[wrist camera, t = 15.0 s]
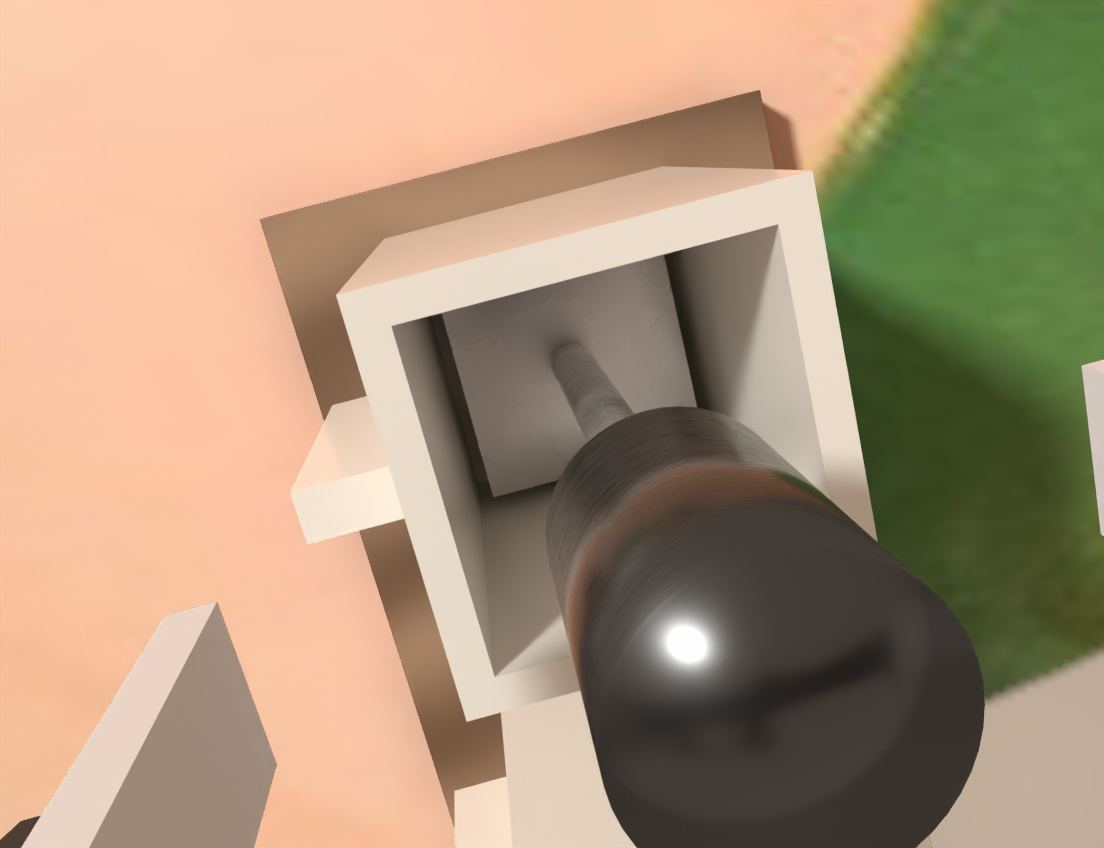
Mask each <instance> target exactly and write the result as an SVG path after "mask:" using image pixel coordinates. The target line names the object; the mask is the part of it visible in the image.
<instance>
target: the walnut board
mask: <svg viewBox="0 0 1104 848" xmlns="http://www.w3.org/2000/svg"><path fill="white" fill-rule="evenodd" d="M662 166H667V167H705V168H743V169H774V163H773V158H772V152H771V147H770V142H769V136H768V131H767V125H766V120H765V115H764V109H763V104H762V98H761V93H760V90H758V91H754V92H749V93H745V94H741V95H737V96H734V97H730V98H726V99H722V100H718V101H714V102H710V103H707V104H703V105H699V106H695V107H691V108H687V109H683V110H679V111H676V112H672V113H668V114H664V115H660V116H656V117H652V118H649V119H645V120H641V121H637V122H633V123H629V124H625V125H622V126H618V127H614V128H610V129H606V130H602V131H598V132H595V133H591V134H587V135H583V136H579V137H575V138H571V139H567V140H564V141H560V142H556V143H552V144H548V145H544V146H540V147H537V148H533V149H529V150H525V151H521V152H517V153H513V154H510V155H506V156H502V157H498V158H494V159H490V160H486V161H483V162H479V163H475V164H471V165H467V166H463V167H459V168H456V169H452V170H448V171H444V172H440V173H436V174H432V175H428V176H425V177H421V178H417V179H413V180H409V181H405V182H401V183H398V184H394V185H390V186H386V187H382V188H378V189H374V190H371V191H367V192H363V193H359V194H355V195H351V196H347V197H344V198H340V199H336V200H332V201H328V202H324V203H320V204H316V205H313V206H309V207H305V208H301V209H297V210H293V211H289V212H286V213H282V214H278V215H274V216H270V217H267V218H263V219H260V222H261V225H262V228H263V231H264V235H265V238H266V241H267V244H268V247H269V250H270V253H271V256H272V260H273V263H274V266H275V269H276V272H277V275H278V278H279V281H280V285H281V288H282V291H283V294H284V297H285V300H286V303H287V306H288V310H289V313H290V316H291V319H292V322H293V325H294V328H295V331H296V335H297V338H298V341H299V344H300V347H301V350H302V353H303V356H304V360H305V363H306V366H307V369H308V372H309V375H310V378H311V381H312V384H313V388H314V391H315V394H316V397H317V400H318V403H319V406H320V409H321V413H322V416H323V419H324V422H325V419H326V417H327V415H328V413H329V411H330V409H331V407H332V405H335V404H339V403H343V402H347V401H350V400H354V399H358V398H362V397H366V396H367V395H366V391H365V388H364V385H363V382H362V378H361V375H360V372H359V369H358V365H357V362H356V359H355V355H354V352H353V349H352V346H351V342H350V339H349V336H348V333H347V329H346V326H345V323H344V320H343V316H342V313H341V310H340V307H339V303H338V300H337V297H336V294H337V293H338V292H339V291H340V290H341V288H342V287H343V286H344V285H345V284H346V283H347V282H348V280H349V279H350V278H351V277H352V276H353V275H354V273H355V272H356V271H357V270H358V269H359V268H360V266H361V265H362V264H363V263H364V262H365V261H366V259H367V258H368V257H369V256H370V255H371V254H372V252H373V251H374V250H375V249H376V248H377V247H378V245H379V244H380V243H381V242H382V241H383V240H384V239H385V238H389V237H393V236H397V235H400V234H404V233H408V232H412V231H416V230H420V229H424V228H427V227H431V226H435V225H439V224H443V223H447V222H450V221H454V220H458V219H462V218H466V217H470V216H473V215H477V214H481V213H485V212H489V211H493V210H496V209H500V208H504V207H508V206H512V205H516V204H519V203H523V202H527V201H531V200H535V199H539V198H543V197H546V196H550V195H554V194H558V193H562V192H566V191H569V190H573V189H577V188H581V187H585V186H589V185H592V184H596V183H600V182H604V181H608V180H612V179H615V178H619V177H623V176H627V175H631V174H635V173H639V172H642V171H646V170H650V169H654V168H658V167H662ZM360 534H361V538H362V541H363V544H364V547H365V550H366V553H367V556H368V559H369V563H370V566H371V569H372V572H373V575H374V578H375V581H376V584H377V588H378V591H379V594H380V597H381V600H382V603H383V606H384V609H385V613H386V616H387V619H388V622H389V625H390V628H391V631H392V634H393V637H394V641H395V644H396V647H397V650H398V653H399V656H400V659H401V662H402V666H403V669H404V672H405V675H406V678H407V681H408V684H409V687H410V691H411V694H412V697H413V700H414V703H415V706H416V709H417V712H418V716H419V719H420V722H421V725H422V728H423V731H424V734H425V737H426V741H427V744H428V747H429V750H430V753H431V756H432V759H433V762H434V766H435V769H436V772H437V775H438V778H439V781H440V784H441V787H442V791H443V794H444V797H445V800H446V803H447V806H448V809H449V812H450V816H451V819H452V822H453V825H454V828H455V797H454V791H456V790H460V789H463V788H467V787H470V786H474V785H478V784H481V783H485V782H488V781H492V780H496V779H499V778H503V777H506V766H505V755H504V743H503V732H502V721H501V713H497V714H493V715H490V716H486V717H482V718H479V719H475V720H472V721H468V722H467V721H466V718H465V714H464V711H463V708H462V705H461V701H460V698H459V695H458V692H457V688H456V685H455V682H454V678H453V675H452V672H451V669H450V665H449V662H448V659H447V656H446V652H445V649H444V646H443V643H442V639H441V636H440V633H439V630H438V626H437V623H436V620H435V616H434V613H433V610H432V607H431V603H430V600H429V597H428V594H427V590H426V587H425V584H424V581H423V577H422V574H421V571H420V568H419V564H418V561H417V558H416V555H415V551H414V548H413V545H412V541H411V538H410V535H409V532H408V528H407V525H406V522H405V519H401V520H397V521H393V522H389V523H386V524H382V525H378V526H375V527H371V528H367V529H363V530H360Z"/></svg>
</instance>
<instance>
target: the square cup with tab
mask: <svg viewBox="0 0 1104 848" xmlns="http://www.w3.org/2000/svg"><path fill="white" fill-rule="evenodd" d="M501 721H502V732H503V743H504V755H505V766H506V777H503V778H499V779H496V780H492V781H488V782H485V783H481V784H478V785H474V786H470V787H467V788H463V789H460V790H456V791H454V797H455V848H637V847H636V846H635V845H634V844H633V842H632V841H631V840H630V838H629V837H628V836H627V834H626V833H625V832H624V830H623V829H622V827H621V826H620V824H619V822H618V820H617V818H616V816H615V814H614V812H613V811H612V809H611V806H610V803H609V800H608V797H607V795H606V792H605V789H604V786H603V782H602V777H601V773H600V769H599V765H598V761H597V757H596V753H595V749H594V745H593V741H592V736H591V732H590V728H589V724H588V720H587V716H586V712H585V708H584V704H583V700H582V695H581V691H577V692H573V693H570V694H566V695H563V696H559V697H555V698H552V699H548V700H544V701H541V702H537V703H533V704H530V705H526V706H522V707H519V708H515V709H512V710H508V711H504V712H501ZM916 848H931V842H930V836H928V837H927V838H926V839H925V840H924V841H923V842H921V843H920V844H919V845H918V846H917V847H916Z"/></svg>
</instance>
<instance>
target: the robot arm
mask: <svg viewBox="0 0 1104 848" xmlns="http://www.w3.org/2000/svg"><path fill="white" fill-rule="evenodd" d="M1082 373H1083V382H1084V391H1085V399H1086V408H1087V417H1088V425H1089V434H1090V443H1091V451H1092V460H1093V469H1094V477H1095V486H1096V495H1097V503H1098V512H1099V521H1100V529H1101V535H1103V536H1104V360H1101V361H1097V362H1093V363H1090V364H1086V365H1082ZM276 766H277V764H276V761H275V758H274V756H273V753H272V750H271V747H270V745H269V742H268V739H267V736H266V734H265V731H264V728H263V725H262V723H261V720H260V717H259V715H258V712H257V709H256V706H255V704H254V701H253V698H252V695H251V693H250V690H249V687H248V684H247V682H246V679H245V676H244V674H243V671H242V668H241V665H240V663H239V660H238V657H237V654H236V652H235V649H234V646H233V643H232V641H231V638H230V635H229V633H228V630H227V627H226V624H225V622H224V619H223V616H222V613H221V611H220V608H219V605H218V602H213V603H209V604H206V605H202V606H198V607H195V608H191V609H187V610H184V611H180V612H176V613H173V614H169V615H165V616H164V618H163V619H162V621H161V623H160V624H159V626H158V628H157V629H156V631H155V632H154V634H153V636H152V637H151V639H150V640H149V642H148V644H147V645H146V647H145V649H144V650H143V652H142V653H141V655H140V657H139V658H138V660H137V661H136V663H135V665H134V666H133V668H132V670H131V671H130V673H129V674H128V676H127V678H126V679H125V681H124V682H123V684H122V686H121V687H120V689H119V690H118V692H117V694H116V695H115V697H114V699H113V700H112V702H111V703H110V705H109V707H108V708H107V710H106V711H105V713H104V715H103V716H102V718H101V720H100V721H99V723H98V724H97V726H96V728H95V729H94V731H93V732H92V734H91V736H90V737H89V739H88V741H87V742H86V744H85V745H84V747H83V749H82V750H81V752H80V753H79V755H78V757H77V758H76V760H75V762H74V763H73V765H72V766H71V768H70V770H69V771H68V773H67V774H66V776H65V778H64V779H63V781H62V783H61V784H60V786H59V787H58V789H57V791H56V792H55V794H54V795H53V797H52V799H51V800H50V802H49V804H48V805H47V807H46V808H45V810H44V812H43V813H42V815H41V816H38V817H34V818H31V819H27V820H23V821H21V822H19V823H18V824H17V825H16V826H15V827H14V828H13V829H12V830H11V831H10V832H9V833H7V834H6V835H5V836H4V837H3V838H2V839H1V840H0V848H254V845H255V841H256V838H257V834H258V830H259V827H260V823H261V820H262V816H263V812H264V809H265V805H266V802H267V798H268V794H269V791H270V787H271V784H272V780H273V776H274V773H275V769H276Z"/></svg>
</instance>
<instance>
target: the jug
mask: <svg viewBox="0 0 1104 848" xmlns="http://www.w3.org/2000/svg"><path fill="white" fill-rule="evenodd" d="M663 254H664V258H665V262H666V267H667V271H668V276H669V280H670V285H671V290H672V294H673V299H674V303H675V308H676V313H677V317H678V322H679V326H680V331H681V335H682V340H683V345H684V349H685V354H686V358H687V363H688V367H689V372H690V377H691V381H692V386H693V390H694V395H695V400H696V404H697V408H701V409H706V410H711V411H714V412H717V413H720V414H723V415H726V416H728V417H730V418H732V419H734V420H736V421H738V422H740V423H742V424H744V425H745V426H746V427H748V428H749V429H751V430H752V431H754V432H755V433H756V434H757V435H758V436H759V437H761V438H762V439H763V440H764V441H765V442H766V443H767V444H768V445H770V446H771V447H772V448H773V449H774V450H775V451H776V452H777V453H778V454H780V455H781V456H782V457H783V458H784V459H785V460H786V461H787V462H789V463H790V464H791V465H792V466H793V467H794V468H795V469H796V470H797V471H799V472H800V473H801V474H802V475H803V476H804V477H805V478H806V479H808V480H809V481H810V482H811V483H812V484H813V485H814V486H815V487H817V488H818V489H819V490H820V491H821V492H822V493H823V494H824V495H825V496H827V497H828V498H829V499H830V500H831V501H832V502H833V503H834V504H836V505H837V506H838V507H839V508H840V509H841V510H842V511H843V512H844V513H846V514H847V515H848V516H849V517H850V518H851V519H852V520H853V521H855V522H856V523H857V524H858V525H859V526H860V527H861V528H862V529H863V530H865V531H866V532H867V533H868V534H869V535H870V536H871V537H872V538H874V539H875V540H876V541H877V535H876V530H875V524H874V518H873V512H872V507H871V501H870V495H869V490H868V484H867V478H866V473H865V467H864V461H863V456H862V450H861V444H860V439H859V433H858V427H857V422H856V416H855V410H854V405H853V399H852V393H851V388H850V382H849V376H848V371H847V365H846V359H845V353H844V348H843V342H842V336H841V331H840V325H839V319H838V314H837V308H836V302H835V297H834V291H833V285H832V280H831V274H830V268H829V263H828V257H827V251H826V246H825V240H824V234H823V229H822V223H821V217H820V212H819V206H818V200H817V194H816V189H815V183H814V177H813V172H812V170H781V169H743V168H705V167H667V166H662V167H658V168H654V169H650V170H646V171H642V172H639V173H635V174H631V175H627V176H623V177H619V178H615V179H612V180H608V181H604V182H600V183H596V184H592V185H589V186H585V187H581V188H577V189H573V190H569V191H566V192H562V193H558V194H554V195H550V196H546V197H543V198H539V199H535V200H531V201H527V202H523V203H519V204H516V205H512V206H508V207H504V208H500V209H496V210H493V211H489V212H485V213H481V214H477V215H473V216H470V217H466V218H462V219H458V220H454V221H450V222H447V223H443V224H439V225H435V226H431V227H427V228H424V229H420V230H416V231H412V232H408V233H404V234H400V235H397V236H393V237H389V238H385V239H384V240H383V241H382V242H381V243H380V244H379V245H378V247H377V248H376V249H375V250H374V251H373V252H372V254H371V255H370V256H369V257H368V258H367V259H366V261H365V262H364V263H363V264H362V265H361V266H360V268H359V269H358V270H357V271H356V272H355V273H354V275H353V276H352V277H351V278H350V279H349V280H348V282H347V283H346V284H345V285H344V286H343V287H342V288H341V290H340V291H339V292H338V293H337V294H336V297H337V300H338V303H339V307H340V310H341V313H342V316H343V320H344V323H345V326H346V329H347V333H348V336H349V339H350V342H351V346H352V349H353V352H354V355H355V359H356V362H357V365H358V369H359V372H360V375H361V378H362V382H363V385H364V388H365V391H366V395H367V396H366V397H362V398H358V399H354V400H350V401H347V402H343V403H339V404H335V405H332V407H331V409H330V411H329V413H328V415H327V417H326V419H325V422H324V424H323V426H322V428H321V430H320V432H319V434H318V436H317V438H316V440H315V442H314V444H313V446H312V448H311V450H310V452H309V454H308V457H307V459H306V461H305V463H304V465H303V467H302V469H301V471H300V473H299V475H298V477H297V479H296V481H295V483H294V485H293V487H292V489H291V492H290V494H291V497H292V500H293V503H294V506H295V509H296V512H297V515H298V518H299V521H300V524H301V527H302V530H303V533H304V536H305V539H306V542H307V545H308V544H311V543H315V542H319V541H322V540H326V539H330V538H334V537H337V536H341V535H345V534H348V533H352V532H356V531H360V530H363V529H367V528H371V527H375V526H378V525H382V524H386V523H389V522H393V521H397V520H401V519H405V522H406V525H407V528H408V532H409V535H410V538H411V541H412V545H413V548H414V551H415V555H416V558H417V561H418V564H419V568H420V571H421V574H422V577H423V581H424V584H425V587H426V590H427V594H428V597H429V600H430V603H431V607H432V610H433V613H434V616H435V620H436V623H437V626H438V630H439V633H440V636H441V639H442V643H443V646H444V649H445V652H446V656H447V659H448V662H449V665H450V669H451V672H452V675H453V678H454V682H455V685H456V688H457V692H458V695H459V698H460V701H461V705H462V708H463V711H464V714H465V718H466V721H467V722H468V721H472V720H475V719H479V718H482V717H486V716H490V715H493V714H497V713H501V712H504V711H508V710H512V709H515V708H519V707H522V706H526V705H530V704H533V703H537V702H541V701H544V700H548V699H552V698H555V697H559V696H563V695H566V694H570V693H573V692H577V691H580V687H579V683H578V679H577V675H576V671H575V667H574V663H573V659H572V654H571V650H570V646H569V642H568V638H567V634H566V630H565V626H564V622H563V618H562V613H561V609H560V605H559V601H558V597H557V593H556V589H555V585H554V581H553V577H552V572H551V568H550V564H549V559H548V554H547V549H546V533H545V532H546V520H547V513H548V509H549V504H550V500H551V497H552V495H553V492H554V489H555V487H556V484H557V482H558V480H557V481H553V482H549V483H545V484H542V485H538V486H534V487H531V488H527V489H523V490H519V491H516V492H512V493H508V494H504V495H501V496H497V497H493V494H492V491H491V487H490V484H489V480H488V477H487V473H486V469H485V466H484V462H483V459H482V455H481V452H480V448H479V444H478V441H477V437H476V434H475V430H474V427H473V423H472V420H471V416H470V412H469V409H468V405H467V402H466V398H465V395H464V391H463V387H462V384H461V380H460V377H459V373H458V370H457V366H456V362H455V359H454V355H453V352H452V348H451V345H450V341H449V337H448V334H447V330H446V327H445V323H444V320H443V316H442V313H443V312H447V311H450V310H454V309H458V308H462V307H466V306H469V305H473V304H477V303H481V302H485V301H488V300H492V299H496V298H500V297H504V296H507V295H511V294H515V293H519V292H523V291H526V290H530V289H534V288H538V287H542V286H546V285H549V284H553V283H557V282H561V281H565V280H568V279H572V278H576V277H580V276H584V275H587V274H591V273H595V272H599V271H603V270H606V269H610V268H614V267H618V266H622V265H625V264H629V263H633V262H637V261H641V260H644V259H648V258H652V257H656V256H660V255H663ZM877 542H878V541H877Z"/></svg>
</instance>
